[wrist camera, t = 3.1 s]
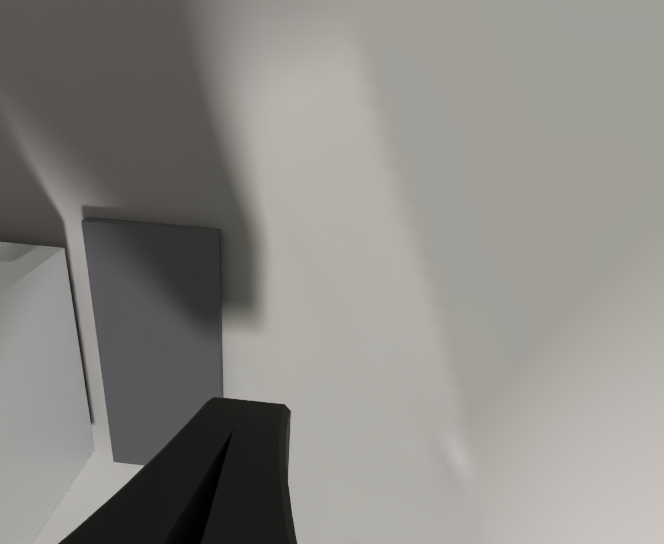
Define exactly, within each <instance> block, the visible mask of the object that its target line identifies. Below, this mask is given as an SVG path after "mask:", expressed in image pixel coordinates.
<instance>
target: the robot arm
mask: <svg viewBox="0 0 664 544" xmlns="http://www.w3.org/2000/svg"><path fill="white" fill-rule="evenodd" d="M290 415H291V411H290V410H289V409H288V408H287V406H286V405H285V404H276V403H266V402H257V401H247V400H238V399H229V398H219V397H213V398H211V399H210V400H209V401H207V402H206V403H205V404H204V405H203V407H202V408H201V409H200V410H199V411H198V412H197V413H196V414H195V415H194V416H193V417H192V418H191V419H190V421H189V422H188V423H187V424H186V425H185V426H184V427H183V428H182V429H181V430H180V431H179V432H178V433H177V434H176V435H175V436H174V437H173V438H172V439H171V440H170V441H169V442H168V444H167V445H166V446H165V447H164V448H163V449H162V450H161V451H160V452H159V453H158V454H157V455H156V456H155V457H154V458H153V459H152V460H150V461H149V462H148V463H147V464H146V465H145V466H144V467H143V468H142V469H141V470H140V471H139V472H138V473H137V474H136V475H135V476H134V477H133V478H132V479H131V480H130V481H129V482H128V483H127V484H126V485H125V486H124V487H122V488H121V489H120V490H119V491H118V492H117V493H116V494H115V495H114V496H113V497H112V498H110V499H109V500H108V501H107V502H106V503H105V504H104V505H102V506H101V507H100V508H99V509H98V510H97V511H96V512H95V513H93V514H92V515H91V516H90V517H89V518H88V519H87V520H85V521H84V522H83V523H82V524H81V525H80V526H79V527H78V528H76V529H75V530H74V531H73V532H72V533H71V534H69V535H68V536H67V537H66V538H65V539H63V540H62V541H61V542H60V543H59V544H297V541H296V536H295V530H294V524H293V518H292V511H291V503H290V495H289V487H288V463H289V439H290Z"/></svg>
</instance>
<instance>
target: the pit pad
mask: <svg viewBox="0 0 664 544" xmlns="http://www.w3.org/2000/svg"><path fill="white" fill-rule="evenodd" d="M82 229H83V236H84V244H85V251H86V259H87V266H88V274H89V281H90V288H91V296H92V303H93V311H94V318H95V326H96V333H97V341H98V348H99V355H100V363H101V370H102V378H103V385H104V393H105V400H106V408H107V415H108V423H109V430H110V437H111V445H112V452H113V460H114V462H119V463H128V464H137V465H146V464H147V463H148V462H149V461H150V460H152V459H153V458H154V457H155V456H156V455H157V454H158V453H159V452H160V451H161V450H162V449H163V448H164V447H165V446H166V445H167V444H168V442H169V441H170V440H171V439H172V438H173V437H174V436H175V435H176V434H177V433H178V432H179V431H180V430H181V429H182V428H183V427H184V426H185V425H186V424H187V423H188V422H189V421H190V419H191V418H192V417H193V416H194V415H195V414H196V413H197V412H198V411H199V410H200V409H201V408H202V407H203V405H204V404H205V403H206V402H207V401H209V400H210V399H211V398H213V397H219V398H223V360H222V315H221V270H220V230H218V229H207V228H196V227H185V226H174V225H163V224H152V223H141V222H130V221H119V220H108V219H97V218H85V219H84V220H82Z"/></svg>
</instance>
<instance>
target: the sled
mask: <svg viewBox="0 0 664 544" xmlns="http://www.w3.org/2000/svg"><path fill="white" fill-rule="evenodd" d="M94 451H95V448H94V441H93V435H92V428H91V422H90V415H89V408H88V402H87V395H86V389H85V382H84V375H83V369H82V362H81V356H80V349H79V342H78V336H77V329H76V323H75V316H74V309H73V303H72V296H71V290H70V283H69V276H68V270H67V263H66V257H65V250H64V248H60V247H49V246H39V245H28V244H17V243H7V242H0V544H32V543H33V542H34V540H35V539H36V537H37V536H38V534H39V533H40V531H41V530H42V528H43V527H44V525H45V524H46V522H47V521H48V519H49V518H50V516H51V515H52V513H53V512H54V510H55V509H56V507H57V506H58V505H59V503H60V502H61V500H62V499H63V497H64V496H65V494H66V493H67V491H68V490H69V488H70V487H71V485H72V484H73V482H74V481H75V479H76V478H77V476H78V475H79V473H80V472H81V470H82V469H83V467H84V466H85V464H86V463H87V461H88V460H89V458H90V457H91V455H92V454H93V452H94Z"/></svg>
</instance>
